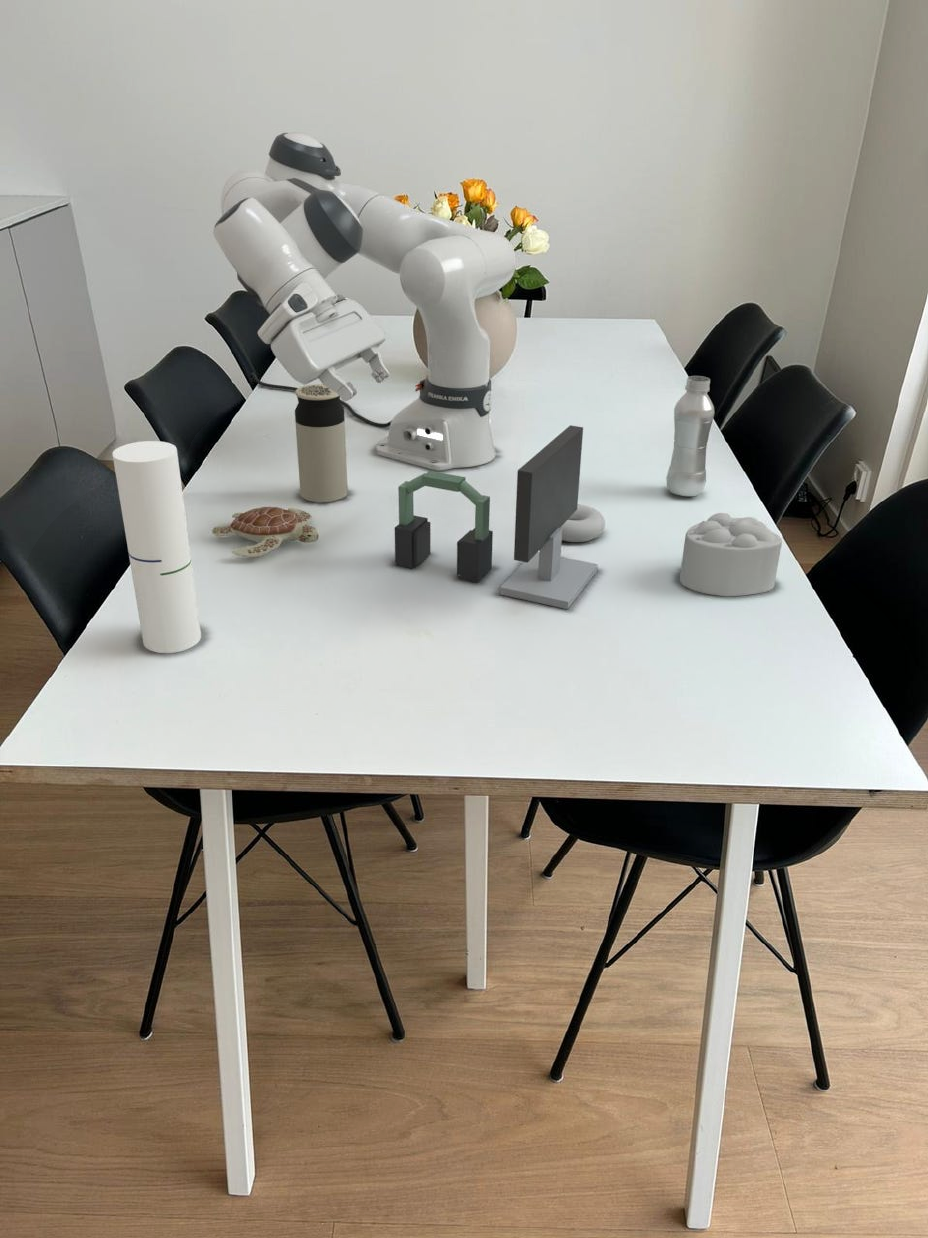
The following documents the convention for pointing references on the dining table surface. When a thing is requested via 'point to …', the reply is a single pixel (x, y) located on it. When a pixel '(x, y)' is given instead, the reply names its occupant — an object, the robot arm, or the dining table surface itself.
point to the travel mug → (321, 444)
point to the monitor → (548, 525)
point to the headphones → (416, 529)
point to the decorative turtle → (269, 529)
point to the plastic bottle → (691, 438)
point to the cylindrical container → (158, 544)
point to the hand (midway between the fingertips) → (368, 388)
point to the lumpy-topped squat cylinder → (730, 556)
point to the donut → (583, 525)
